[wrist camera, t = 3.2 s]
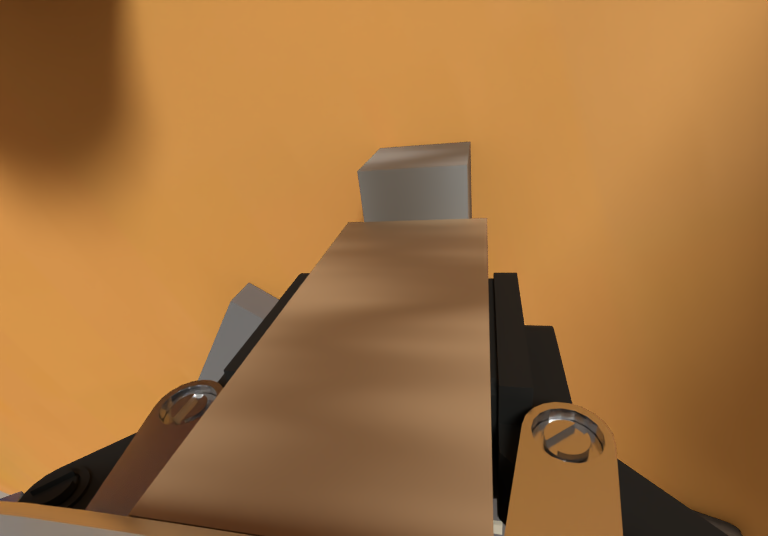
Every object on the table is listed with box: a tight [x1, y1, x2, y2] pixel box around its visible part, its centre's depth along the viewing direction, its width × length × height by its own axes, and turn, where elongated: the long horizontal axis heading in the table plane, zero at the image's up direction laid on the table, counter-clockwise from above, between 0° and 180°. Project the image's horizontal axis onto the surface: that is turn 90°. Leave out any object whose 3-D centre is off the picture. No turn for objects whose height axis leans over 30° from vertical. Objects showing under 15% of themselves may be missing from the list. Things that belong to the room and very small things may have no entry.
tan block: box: [128, 142, 494, 536], centre depth 10 cm, size 4×7×12 cm, turn 6°
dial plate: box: [198, 283, 506, 536], centre depth 22 cm, size 18×17×2 cm
